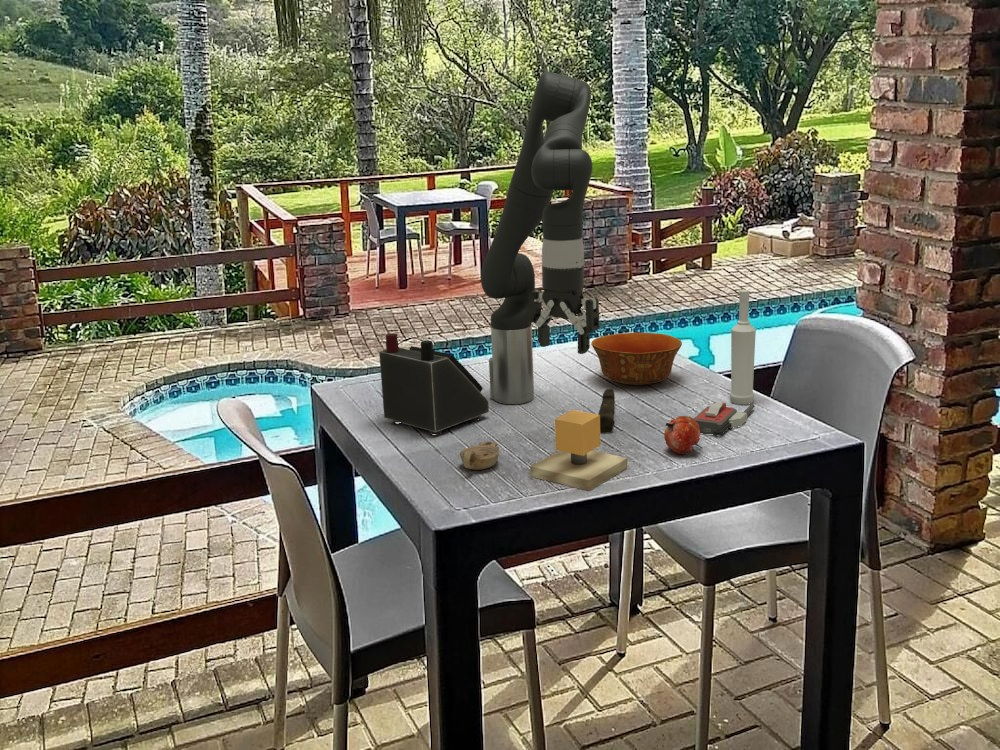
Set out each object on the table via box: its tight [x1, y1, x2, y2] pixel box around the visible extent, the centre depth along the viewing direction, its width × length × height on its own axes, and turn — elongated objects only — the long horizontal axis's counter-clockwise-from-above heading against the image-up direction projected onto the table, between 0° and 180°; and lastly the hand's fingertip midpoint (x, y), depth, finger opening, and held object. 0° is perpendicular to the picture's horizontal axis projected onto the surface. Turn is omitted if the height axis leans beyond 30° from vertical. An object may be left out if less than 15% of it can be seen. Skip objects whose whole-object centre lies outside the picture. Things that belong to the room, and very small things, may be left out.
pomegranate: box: [663, 415, 703, 455], centre depth 204 cm, size 7×7×10 cm
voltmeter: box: [378, 333, 490, 435], centre depth 226 cm, size 16×16×20 cm
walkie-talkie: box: [693, 401, 755, 436], centre depth 220 cm, size 9×4×20 cm
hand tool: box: [598, 388, 616, 434], centre depth 225 cm, size 19×4×5 cm, turn 168°
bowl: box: [590, 332, 683, 386], centre depth 250 cm, size 21×21×10 cm
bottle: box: [729, 289, 757, 405], centre depth 229 cm, size 5×5×25 cm
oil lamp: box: [459, 441, 500, 471], centre depth 201 cm, size 13×8×5 cm, turn 157°
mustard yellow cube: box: [554, 409, 602, 456], centre depth 194 cm, size 6×6×6 cm
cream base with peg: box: [529, 450, 628, 491], centre depth 195 cm, size 13×13×10 cm
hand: (563, 349), depth 194 cm, fingers open, 8 cm apart
